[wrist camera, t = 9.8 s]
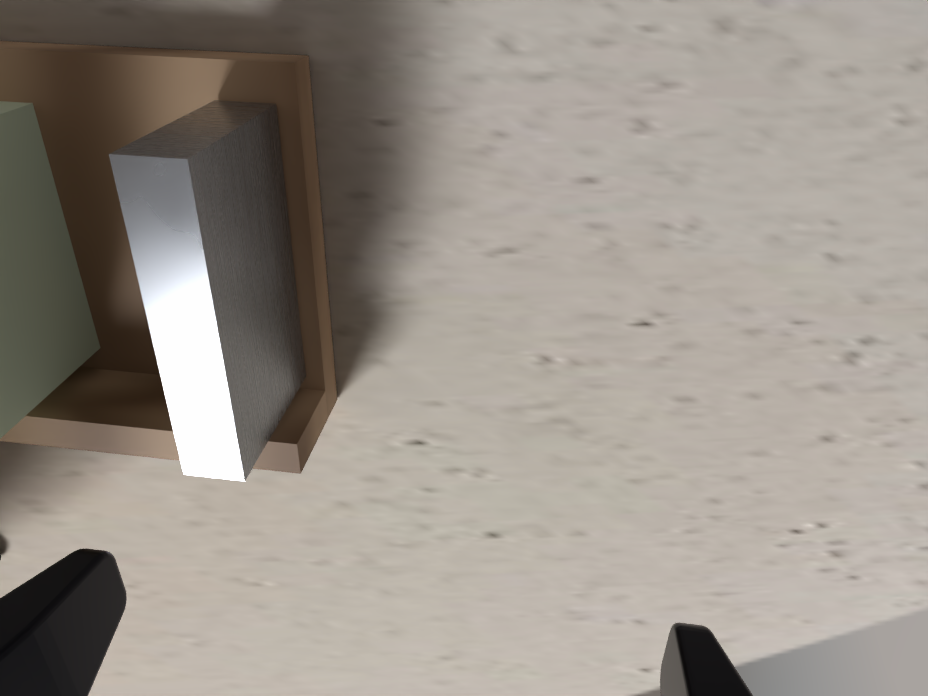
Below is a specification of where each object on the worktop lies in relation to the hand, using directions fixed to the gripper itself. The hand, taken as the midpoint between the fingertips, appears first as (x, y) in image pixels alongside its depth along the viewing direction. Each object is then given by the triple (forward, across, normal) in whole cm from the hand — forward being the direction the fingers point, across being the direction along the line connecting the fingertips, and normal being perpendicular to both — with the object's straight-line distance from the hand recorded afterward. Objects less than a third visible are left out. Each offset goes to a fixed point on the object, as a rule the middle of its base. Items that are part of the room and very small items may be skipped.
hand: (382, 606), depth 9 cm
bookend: (+11, +6, 0) cm, 12 cm away
